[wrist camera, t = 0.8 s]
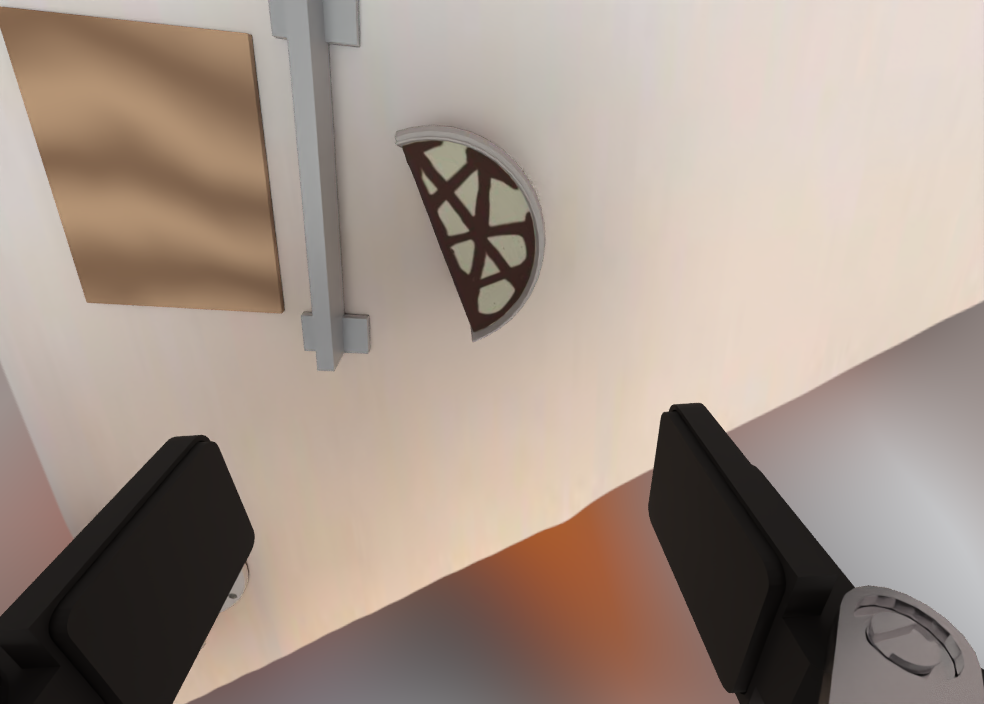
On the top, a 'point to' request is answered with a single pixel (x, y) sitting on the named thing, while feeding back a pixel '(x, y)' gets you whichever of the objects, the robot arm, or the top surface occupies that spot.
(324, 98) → the grey footed rail
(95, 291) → the walnut board
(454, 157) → the food container
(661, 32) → the top surface
